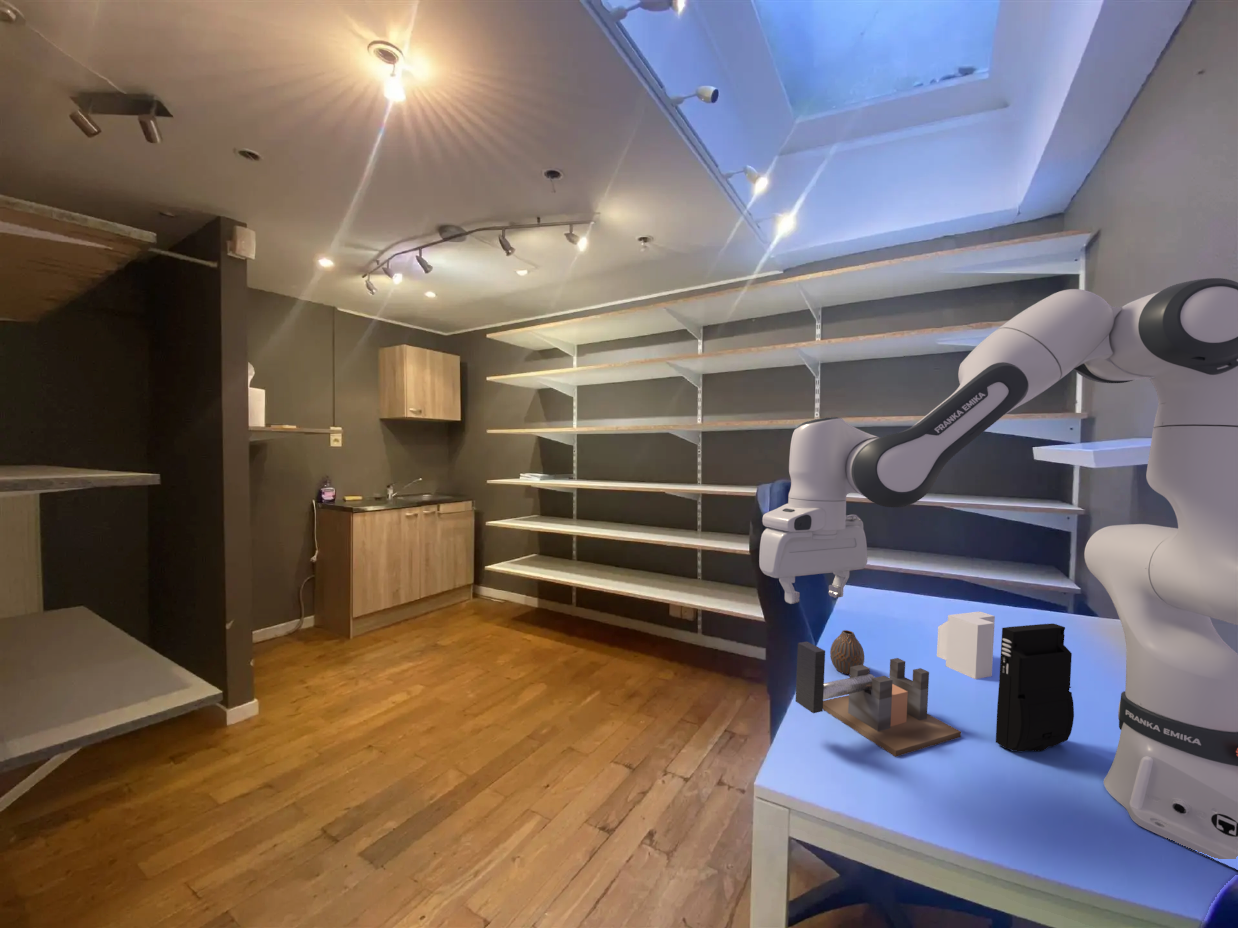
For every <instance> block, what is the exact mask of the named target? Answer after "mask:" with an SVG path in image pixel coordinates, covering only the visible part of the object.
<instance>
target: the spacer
mask: <svg viewBox="0 0 1238 928" xmlns="http://www.w3.org/2000/svg"><path fill="white" fill-rule="evenodd" d="M907 698H908V691H906V690H904V689H902V688H900V687H898V686H896V685H894V684H892V704H891V725H890V726H894V725H898V724H902V723H905V722H906V719H907Z"/></svg>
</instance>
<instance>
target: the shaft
mask: <svg viewBox="0 0 1238 928" xmlns="http://www.w3.org/2000/svg"><path fill="white" fill-rule="evenodd" d="M796 662H797V663H796V679H795V681H796V683H795V684H796V685H795V702H796V704H798V705H800V706H802V707H803V708H805V709H806V710H808V711H809V712H811V714H817V713H822V712H823V711H824V710H823V701H824V700H829V699H834V698H838V697H843V696H847V695H849V694H852V693H857V692H861V691H866V690H870V689H872V678H875V676H874V675H873V674H872V673H869V674H867V675H862V676H857V677H852V678H850V677H848V678H842V679H838V680H832V681H828V682H825V666H826V664H825V663H826V650H824V649H823V648H821V647H819V646H817V645H815V644H812V643H811V642H809V641H802V642H797V658H796Z"/></svg>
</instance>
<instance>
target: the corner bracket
mask: <svg viewBox="0 0 1238 928" xmlns="http://www.w3.org/2000/svg"><path fill="white" fill-rule="evenodd" d="M995 621H996V616H995V615H992V614H989V613H985V612H983V611H973V612H963V613H954V614H948V615H947V620H946V621H945V622H943V623H942V624H940V625H938V627H937V643H936V645H937V646H936V657H937V658H940V659H942V660H944V661H945V667H947V668H949V669H951V670H952V671H956V672H957V673H960V674H961V675H965V676H967V677H969V678H972V679H973V680H978V679H984V678H990V677H992V676H993V662H994V661H993V659H994V658H993V657H994V642H995V641H994V640H995Z"/></svg>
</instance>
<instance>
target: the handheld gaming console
mask: <svg viewBox="0 0 1238 928" xmlns="http://www.w3.org/2000/svg"><path fill="white" fill-rule="evenodd" d="M1065 630H1066V627H1065V626H1063V625H1060V624H1057V623H1040V624H1038V623H1037V624H1029V625H1026V624H1025V625H1017V626H1007V627H1002V628H1001V644H1000V658H999V659H1000V661H999V663H1000V664H999V677H998V678H999V679H998V695H997V704H996V705H997V709H996V724H995V725H996V726H995V743H996V744H997V745H999V746H1001V747H1003V748H1005V749H1008V750H1010V751H1012V752H1016V753H1017V752H1020V753H1022V752H1023V753H1024V752H1043V751H1045V750H1047V749H1048V748H1049V747H1051V748H1053V747H1055V746H1057V745H1060V744H1062V743H1064V742H1067V741H1068V740H1069V738H1070V736H1071V734H1072V730H1073V726H1074V719H1075V711H1074V709H1075V708H1074V699H1073V694H1072V693H1073V692H1072V691H1070V689H1071V688H1072V686H1071V676H1072V675H1071V674H1072V655H1073V653H1072V652H1071V651H1070V650H1069V648H1068V647H1067V646H1066V645H1065Z"/></svg>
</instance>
